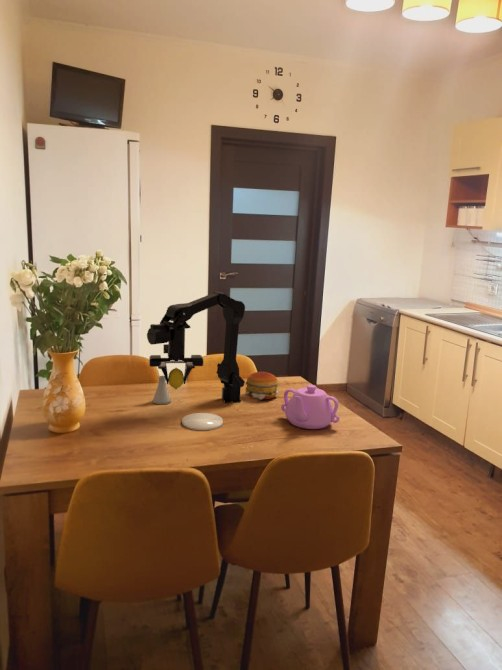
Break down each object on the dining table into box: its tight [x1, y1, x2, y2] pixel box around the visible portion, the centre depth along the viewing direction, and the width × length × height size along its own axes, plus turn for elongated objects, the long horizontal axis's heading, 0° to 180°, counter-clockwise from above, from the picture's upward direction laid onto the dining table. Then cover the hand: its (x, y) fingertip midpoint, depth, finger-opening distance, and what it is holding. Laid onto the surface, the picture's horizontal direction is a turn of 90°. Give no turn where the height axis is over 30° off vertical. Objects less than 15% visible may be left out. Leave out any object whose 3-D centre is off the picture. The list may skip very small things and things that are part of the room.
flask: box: [152, 375, 172, 405], centre depth 200 cm, size 7×7×10 cm
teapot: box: [280, 384, 341, 430], centre depth 183 cm, size 22×22×14 cm
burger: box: [245, 371, 279, 400], centre depth 212 cm, size 14×14×10 cm
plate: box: [181, 412, 224, 432], centre depth 182 cm, size 14×14×1 cm
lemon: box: [168, 367, 184, 390], centre depth 188 cm, size 6×6×8 cm
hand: (176, 383), depth 188 cm, fingers closed on lemon, 5 cm apart
